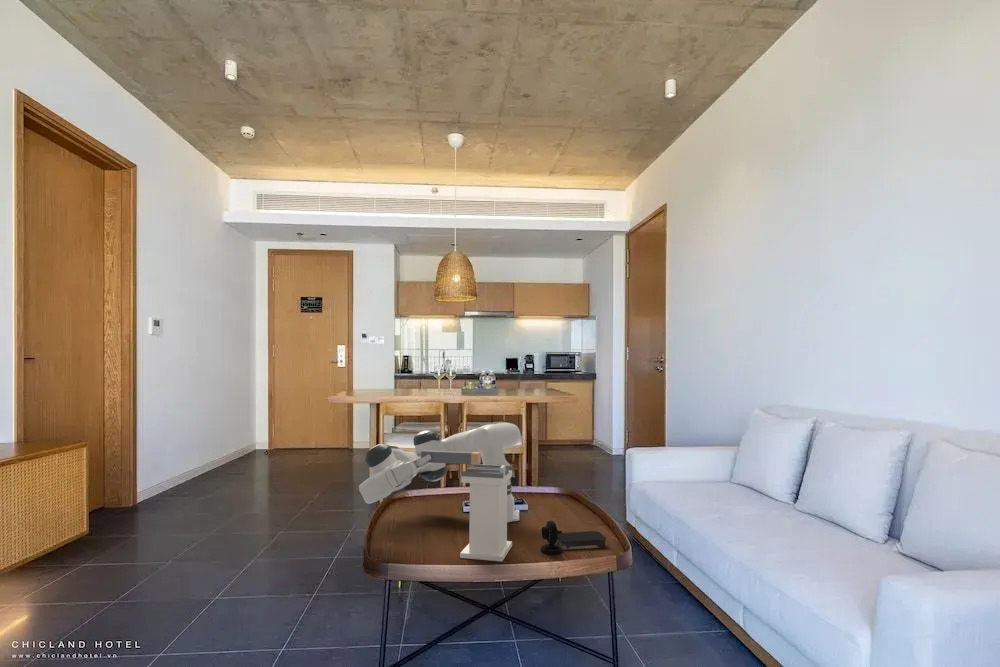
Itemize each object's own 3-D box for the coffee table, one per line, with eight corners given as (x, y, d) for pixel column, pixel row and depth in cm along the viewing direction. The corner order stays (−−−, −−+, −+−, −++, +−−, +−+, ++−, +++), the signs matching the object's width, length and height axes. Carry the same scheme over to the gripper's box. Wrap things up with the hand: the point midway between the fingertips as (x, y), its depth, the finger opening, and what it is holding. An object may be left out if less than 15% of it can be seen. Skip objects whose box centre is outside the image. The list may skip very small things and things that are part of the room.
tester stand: (473, 542, 185) (474, 459, 187) (512, 545, 182) (512, 460, 184) (460, 557, 170) (461, 466, 172) (502, 561, 167) (502, 468, 169)
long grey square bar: (424, 460, 180) (425, 449, 180) (480, 462, 176) (480, 452, 176) (420, 462, 177) (421, 451, 177) (477, 464, 172) (478, 453, 172)
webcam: (537, 548, 180) (537, 518, 181) (558, 546, 182) (557, 517, 183) (544, 555, 172) (544, 524, 173) (566, 554, 174) (565, 523, 175)
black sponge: (598, 541, 189) (598, 530, 189) (607, 548, 181) (606, 537, 181) (554, 543, 186) (554, 532, 186) (561, 551, 178) (561, 540, 178)
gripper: (416, 476, 190) (447, 458, 187) (391, 488, 170) (426, 468, 167) (408, 460, 191) (439, 442, 188) (383, 471, 171) (417, 451, 169)
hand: (433, 455), depth 178 cm, fingers closed on long grey square bar, 4 cm apart
